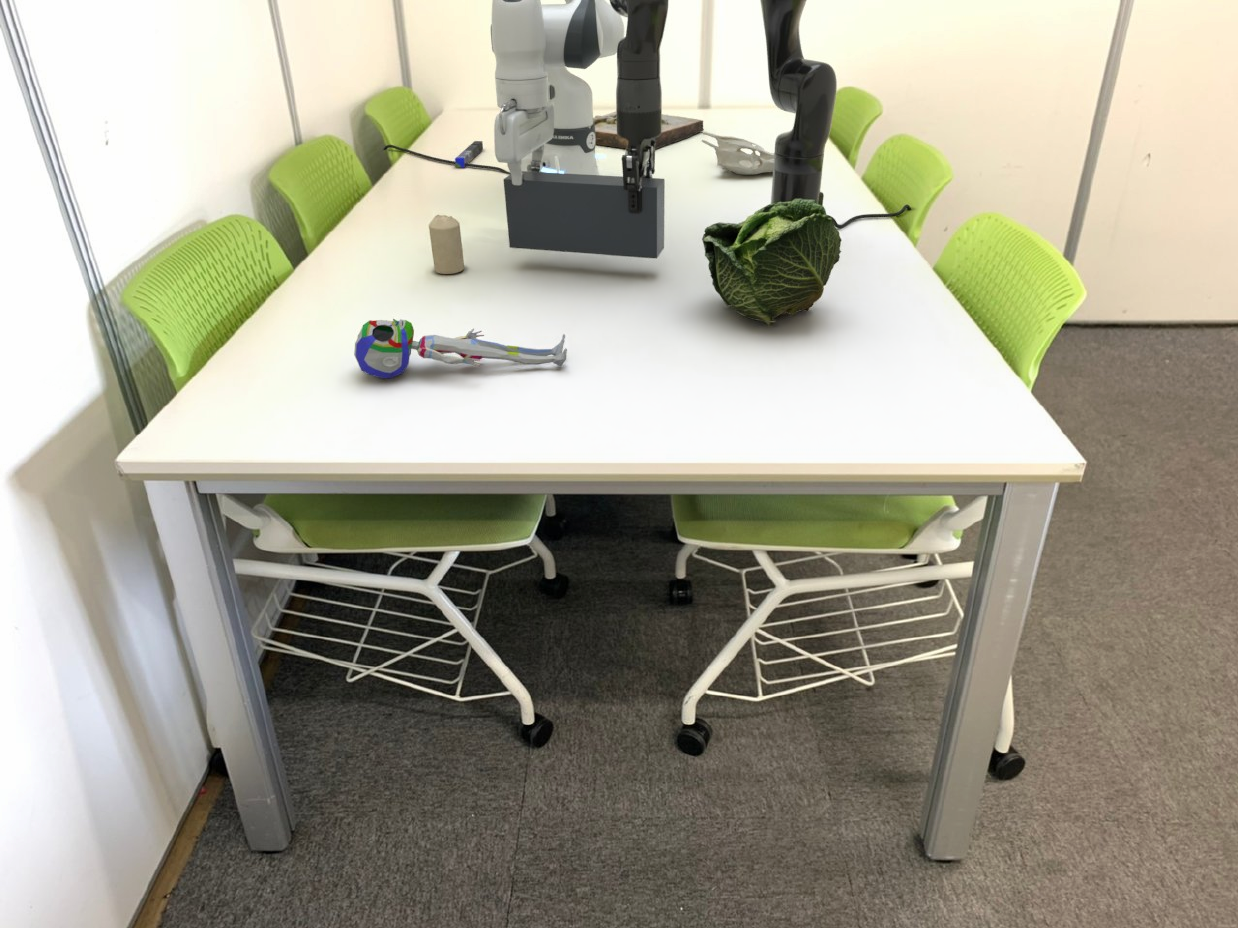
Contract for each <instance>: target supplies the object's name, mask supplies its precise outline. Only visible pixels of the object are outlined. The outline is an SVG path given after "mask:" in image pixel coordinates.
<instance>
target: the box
mask: <svg viewBox="0 0 1238 928" xmlns="http://www.w3.org/2000/svg"><path fill="white" fill-rule="evenodd" d="M522 173H524V183H523V184H521V185H513V184H512V177H511V174H508V175H507V176H506V177H504V178H503V190H504V199H505V200H504V201H505V202H504V203H505V213H506V223H507V236H508V243H509V244H508V247H509V249H521V250H536V251H548V252H560V253H561V252H562V253H564V252H565V253H574V254H575V253H576V254H591V255H603V256H617V257H629V258H641V259H642V258H644V259H656V260H657V259H659V256H660V255H661V253H662V252H663V251H664V249H665V186H666V185H665V178H658V177H652V178H643V182H642V211H641V212H640V213H639V214H636V213H630V212H629V211H628V191H627V190H624V188H623V175H622V176H621V175H619V176H618V175H602V174H599V175H584V174H565V173H546V172H527V171H522ZM631 183H635V181H634V178H632V180H631Z"/></svg>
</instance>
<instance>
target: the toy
mask: <svg viewBox="0 0 1238 928" xmlns="http://www.w3.org/2000/svg"><path fill="white" fill-rule="evenodd" d="M474 331H475V328H472V329H471V330H469V331H468V332H467V333H466V334H465V335H463V336H458V337H449V336H448V337H447V336H442V335H439V334H428V335H423V336H421V338H420V339H419V341H417V340H414V336H415V329H414V326H413V324H412V322H410V321H408V320H407V319H399V320H397V319H395V318H392V320H387V319H379V320H368V321H367V322H365V323H364V324H362V326H361V329H360V331H359V333H358V334H357V338H356V340H355V342H354V354H353V355H354V357H355V359H356V362H357V364H358V366H359V369H360V370H361V372H364V373H366V374H367V375H370V376H373V377H377V378H382V379H383V378H384V379H392V378H394V377H396V376H398V375H400V374H401V375H402V374H403V372H404V371H405V370H406V368H407V367H408V366H409V364H410V357H411V355H412V350H415V351H417V353H418V356H419V357H421V358H422V359H430V360H434V361H438V362H442V363H444V364H449V365H458V364H459V365H461V364H465V365H471V366H477V367H479V368H480V367H481V366H482V365H483V363H482V362H478V361H480V360H482V359H487V360H488V359H489V360H503V361H509V362H514V363H517V364H520V365H528V366H529V365H542V364H550V363H553V364H555V365H557V366H559V367H562V366H563V364H564V362H565V361H566V360H567V357H568V355H567V353H568V348H566V347H565V348H564V345H565V340H566V334H565V333H563V334H562V338H561V340H560V341H559V343H558V344H556V345H555V346H554V347H552V348H533V347H532V348H531V347H523V346H518V345H517V346H516V345H504V344H501V343H498V342H494V341H488V340H482V339H478V338H479V337H480V338H481V337H485V334H480V333H482V332H483V331H482V330H479V331H476V332H474ZM563 349H564V350H563ZM453 353H455V354H457V355H459V357H458V356H455V355H448V354H453ZM445 354H447V355H445Z"/></svg>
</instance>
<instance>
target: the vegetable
mask: <svg viewBox="0 0 1238 928" xmlns="http://www.w3.org/2000/svg"><path fill="white" fill-rule="evenodd" d="M827 215H828V214H827V211H826V208H825V206H824V205H823V206H821V205H819V204H816V203H815V200H802V199H801V198H800V199H794V200H793V201H791V202H778V203H774V204H771V203H769V204H767V205H765V206H764V207H761V208H760V209H758V210H756V211H755V212H754V213H753V214H751V215H748V216H747V217H746V219H745V220H744V221H741V222H739V223H732V222H722V221H721V222H720V221H719V222H716V223H712V224H710V225H708V226H707V227H705V229H704V234H703V235H702V238H701V241H702V243H703V248H704V257H705V258H706V259H707V261H708V265H707V267H708V271H709V273H710V275H709V276H710V278H711V280H712V286H713V288H714V290H715V292H717V294H718V295H719V296H720V298H721V300H723V303H725V304H726V305H727V306H728V307H732V308H733V309H734V310H735V312H736V313H738V314H739V315H742V316H743V317H745V318H747V319H751V320H755V321H762V322H764V323H765V324H766V325H768V326H770V324H771V323H777V322H776V320H775V319H774V318H777V317H778V316H779V315H782V314H789V315H793V316H795V315H796V314H797V313H798V312H808V311H809V310H810V309H811V308H813V306H814V305H815V303H816V302H818V301H819V300H820V299H821V298H822V296H823V294H824V290H825V286H826V285H827V284H828V282H829V279H830V276H831V272H832V270H833V269H834V266H836V264H837V263H839V262H840V259H841V256H840V254H841V252H842V250H841V249H840V248H841V244H842V243H841V242H842V241H843V240H842V238H841V236H840V231H839V230H838V228H836V227H835V226H834V221H833V220H832V219H831V218H828V217H827Z"/></svg>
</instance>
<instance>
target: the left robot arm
mask: <svg viewBox="0 0 1238 928" xmlns="http://www.w3.org/2000/svg"><path fill="white" fill-rule="evenodd" d="M491 1H492V2H491V24H490V41H491V50H492V53H493V54H494V57H495V71H494V81H495V94H496V95H495V96H496V105H497V107H498V108H500V111H499V112H498V114H496V116H495V118H494V124H493V125H494V126H493V132H494V133H493V135H494V136H493V139H494V156H495V159H496V161H497V163H501V164H502V163H503V164H506V166H507V168H508V170H509V171H507V170H506V169H503V168H502V167H498V166H492V165H485V164H484V165H483V164H475V163H465V167H470V168H476V169H477V168H479V169H487V170H494V171H499V172H501V173H503V174H506V175H510V174H511V177H512V184H513V185H521V184H523V183H524V173H522V171H527V172H546V173H565V174H584V175H600V173H599V168H598V163H597V159H600V160H601V159H602V160H604V159H606V154H600V153H596V145H597V144H596V133H595V124H594V123H593V118H594V102H593V101H594V100H593V99H594V98H593V90H592V88H591V86H590V85H589V83H588V82H587V81H586V80H584V79H583V78H581V77H579V76H578V75H575V74H573V73H572V72H571V71H569V68H570V69H580V70H586V69H588V68H589V67H591V66H592V64H594V63H595V62H596V61H597V60H599V59H603V58H607V57H611V56H615V55H617V46H618V43H619V41H620V40H621V39H622V38H624V37H625V25H624V24H625V23H624V22H623V21H624V20H623V18H622V16H621V15H619V14H618V13H617V12H616V11H615V10H614V9H613V8H612V6H611V4H610V3H609V2H607V0H564V1H565V3H554V4H553V3H552V4H549V3H547V4H545V3H543V4H542V1H541V0H491ZM567 68H568V69H567ZM388 149H395V150H398V151H401V152H405V153H409V154H411V155H414V156H417V157H421V158H424V159H428V160H432V161H436V162H440V163H445V164H450V165H455V160H449V159H443V158H438V157H436V156H430V155H426V154H424V153H420V152H416V151H413V150H410V149H407V148H404V147H403V148H402V147H401V146H396V145H393V144H387V145H385V146H384V147H383V149H382V150H383V151H387V150H388Z"/></svg>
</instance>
